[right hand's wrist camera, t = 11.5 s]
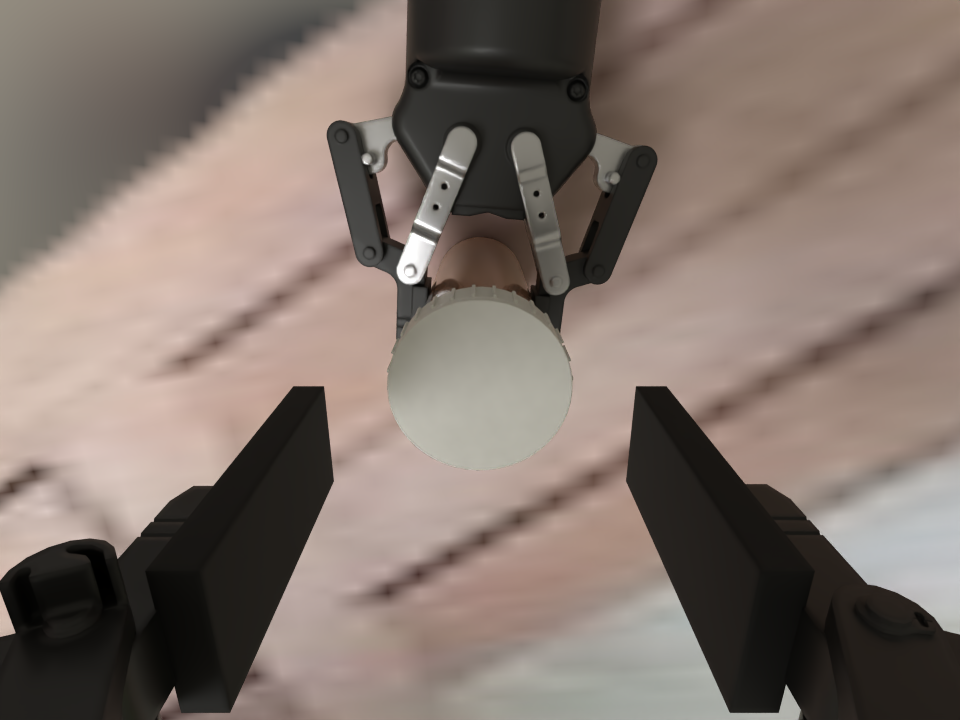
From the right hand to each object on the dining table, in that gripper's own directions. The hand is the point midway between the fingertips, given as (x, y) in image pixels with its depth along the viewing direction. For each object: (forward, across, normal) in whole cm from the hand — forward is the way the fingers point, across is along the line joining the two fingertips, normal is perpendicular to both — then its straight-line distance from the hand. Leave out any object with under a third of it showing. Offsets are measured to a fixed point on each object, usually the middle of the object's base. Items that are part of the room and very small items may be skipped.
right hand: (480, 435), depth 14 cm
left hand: (+13, 0, -3) cm, 13 cm away
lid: (+3, 0, 0) cm, 3 cm away
